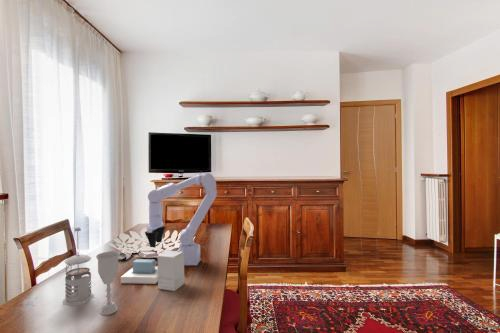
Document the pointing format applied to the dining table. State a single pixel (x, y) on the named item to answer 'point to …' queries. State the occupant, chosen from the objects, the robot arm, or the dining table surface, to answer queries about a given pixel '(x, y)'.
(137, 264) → the block
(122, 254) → the woman figurine
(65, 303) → the french press
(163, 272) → the supplement box
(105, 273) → the chalice
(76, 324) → the dining table surface
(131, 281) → the white rectangular frame
